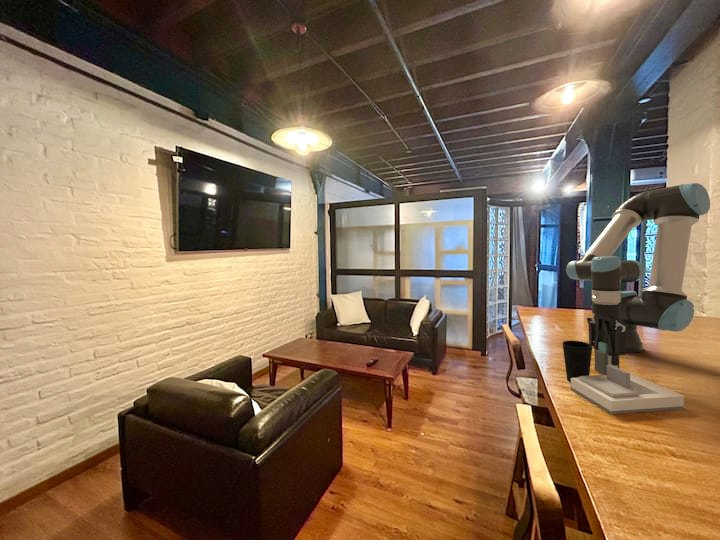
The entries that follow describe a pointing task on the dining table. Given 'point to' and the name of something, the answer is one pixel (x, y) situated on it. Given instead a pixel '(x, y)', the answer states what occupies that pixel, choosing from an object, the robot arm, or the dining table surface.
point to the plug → (602, 356)
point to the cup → (577, 358)
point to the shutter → (612, 382)
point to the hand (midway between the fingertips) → (606, 371)
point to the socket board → (631, 397)
